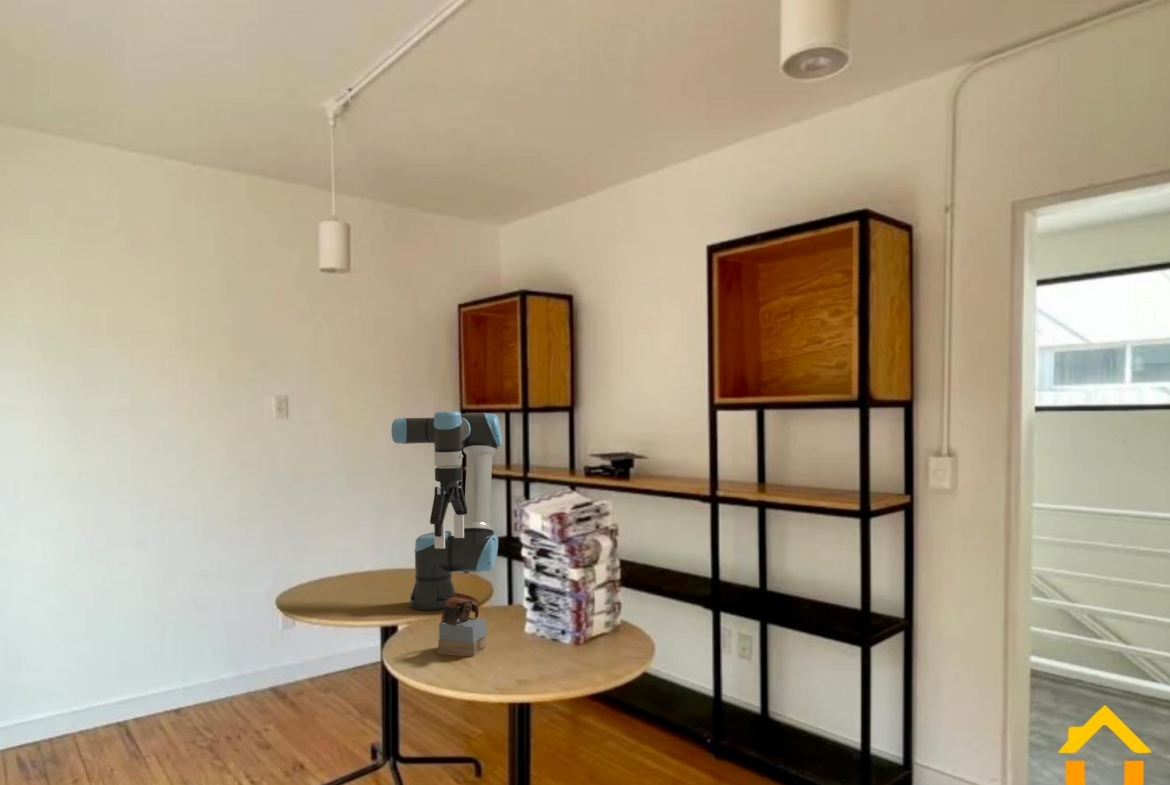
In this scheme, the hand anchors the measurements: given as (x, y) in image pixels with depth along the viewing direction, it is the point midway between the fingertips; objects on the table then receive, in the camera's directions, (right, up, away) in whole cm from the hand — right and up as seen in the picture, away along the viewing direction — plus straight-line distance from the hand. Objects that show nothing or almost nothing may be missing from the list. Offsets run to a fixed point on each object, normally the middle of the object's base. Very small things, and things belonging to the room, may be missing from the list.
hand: (449, 542), depth 192 cm
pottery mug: (+5, -18, -12) cm, 23 cm away
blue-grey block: (+6, -22, -12) cm, 26 cm away
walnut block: (+6, -26, -12) cm, 29 cm away
